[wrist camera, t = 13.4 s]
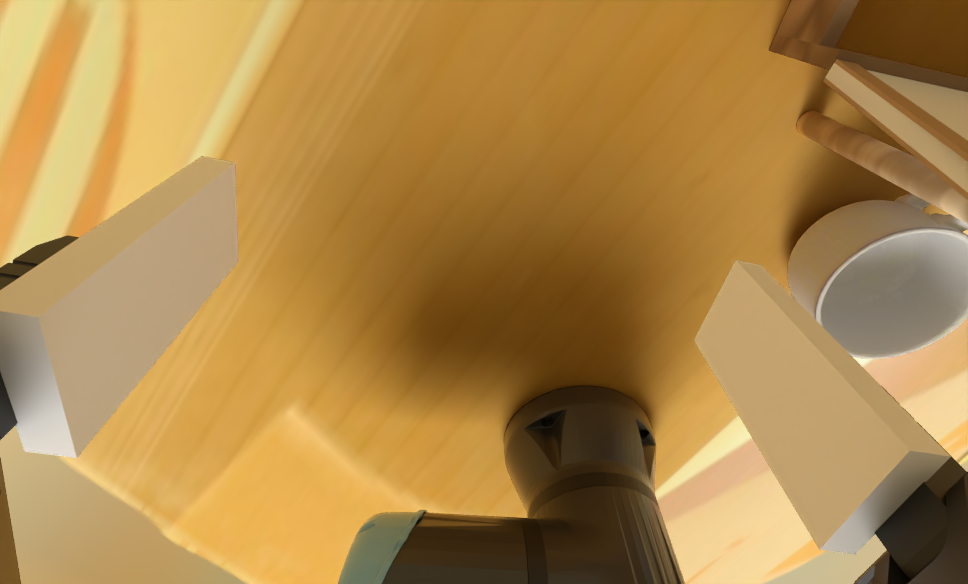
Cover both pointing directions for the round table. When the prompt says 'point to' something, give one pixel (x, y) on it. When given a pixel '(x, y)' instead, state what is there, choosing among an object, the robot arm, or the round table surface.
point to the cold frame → (817, 29)
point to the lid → (912, 117)
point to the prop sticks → (884, 162)
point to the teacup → (883, 275)
